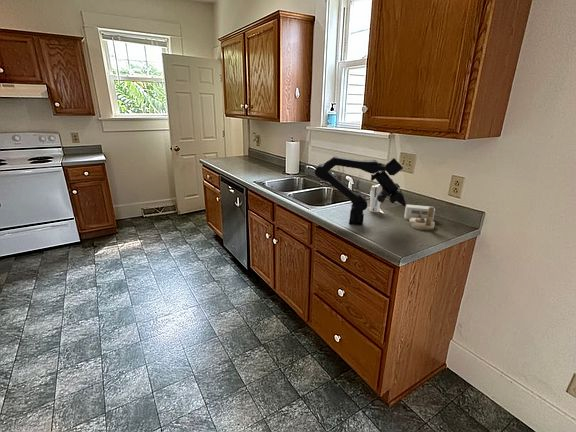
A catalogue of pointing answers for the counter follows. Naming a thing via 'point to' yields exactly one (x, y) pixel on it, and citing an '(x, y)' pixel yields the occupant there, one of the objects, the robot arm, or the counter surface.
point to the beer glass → (375, 198)
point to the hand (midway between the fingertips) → (405, 205)
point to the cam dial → (423, 221)
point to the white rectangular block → (416, 211)
